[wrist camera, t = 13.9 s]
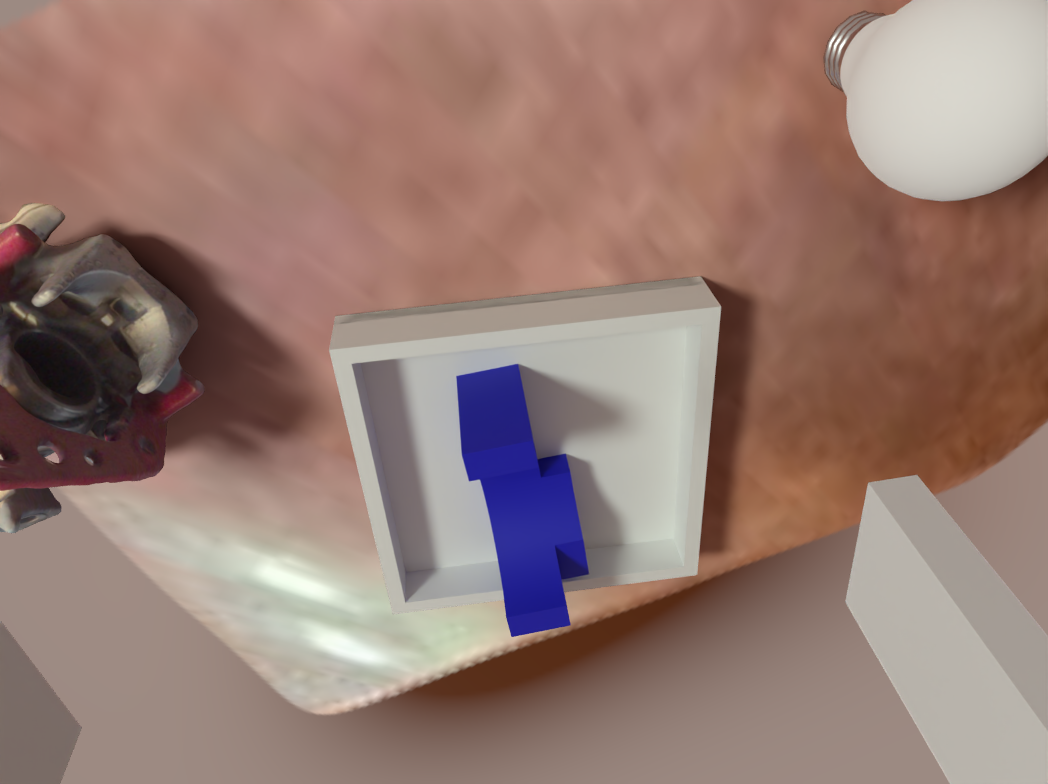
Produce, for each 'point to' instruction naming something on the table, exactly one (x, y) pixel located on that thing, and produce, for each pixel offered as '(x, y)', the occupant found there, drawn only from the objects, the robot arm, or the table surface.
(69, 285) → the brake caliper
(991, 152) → the light bulb
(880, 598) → the robot arm
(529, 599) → the blue curved block
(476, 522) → the kit tray
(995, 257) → the table surface
